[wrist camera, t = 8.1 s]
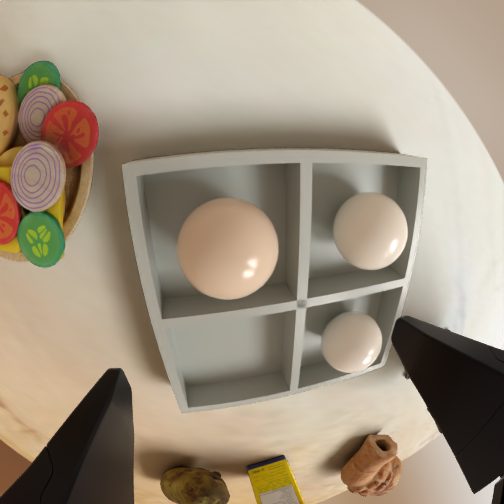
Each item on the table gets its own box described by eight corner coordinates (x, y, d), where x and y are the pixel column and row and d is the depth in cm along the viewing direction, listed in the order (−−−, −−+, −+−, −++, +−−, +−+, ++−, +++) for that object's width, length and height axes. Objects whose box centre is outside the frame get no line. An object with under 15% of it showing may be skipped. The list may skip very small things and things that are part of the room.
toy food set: (-23, 81, 9) (-47, 78, 6) (122, 63, 13) (109, 48, 10) (-29, 247, 14) (-50, 262, 11) (100, 264, 17) (87, 287, 14)
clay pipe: (316, 464, 46) (372, 466, 46) (318, 504, 35) (378, 501, 36) (364, 417, 39) (423, 420, 39) (375, 466, 29) (438, 460, 29)
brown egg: (261, 186, 17) (295, 205, 12) (263, 266, 19) (292, 310, 14) (171, 194, 16) (168, 218, 11) (182, 277, 18) (186, 327, 13)
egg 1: (380, 185, 19) (428, 201, 14) (374, 248, 21) (415, 276, 16) (321, 185, 18) (364, 203, 13) (318, 256, 20) (353, 290, 15)
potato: (137, 470, 28) (138, 515, 21) (196, 447, 27) (205, 502, 20) (179, 484, 32) (185, 524, 25) (239, 461, 31) (252, 508, 24)
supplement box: (255, 475, 34) (272, 529, 24) (245, 465, 32) (263, 526, 22) (290, 465, 35) (311, 518, 25) (284, 454, 32) (307, 514, 22)
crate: (400, 153, 19) (427, 158, 16) (369, 347, 26) (384, 366, 23) (132, 160, 15) (121, 164, 12) (179, 387, 23) (181, 413, 20)
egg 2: (366, 294, 22) (401, 327, 18) (357, 339, 24) (384, 374, 20) (314, 305, 21) (343, 345, 17) (308, 352, 23) (332, 392, 19)
